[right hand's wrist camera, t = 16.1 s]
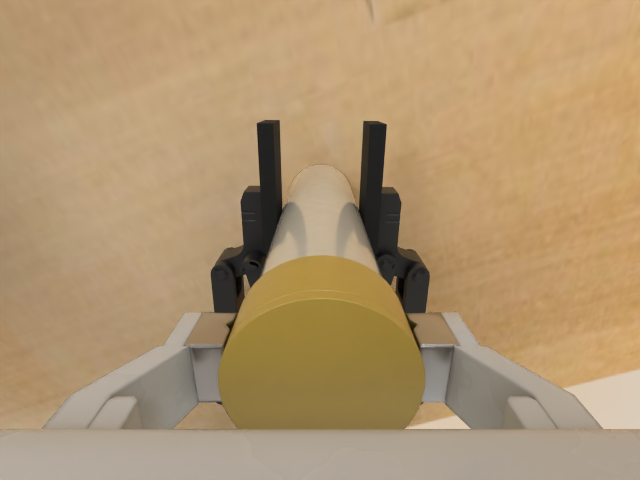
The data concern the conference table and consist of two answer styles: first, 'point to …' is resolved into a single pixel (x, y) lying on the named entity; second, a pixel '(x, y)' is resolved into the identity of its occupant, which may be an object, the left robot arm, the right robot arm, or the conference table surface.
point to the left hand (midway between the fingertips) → (321, 123)
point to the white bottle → (320, 221)
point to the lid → (321, 351)
